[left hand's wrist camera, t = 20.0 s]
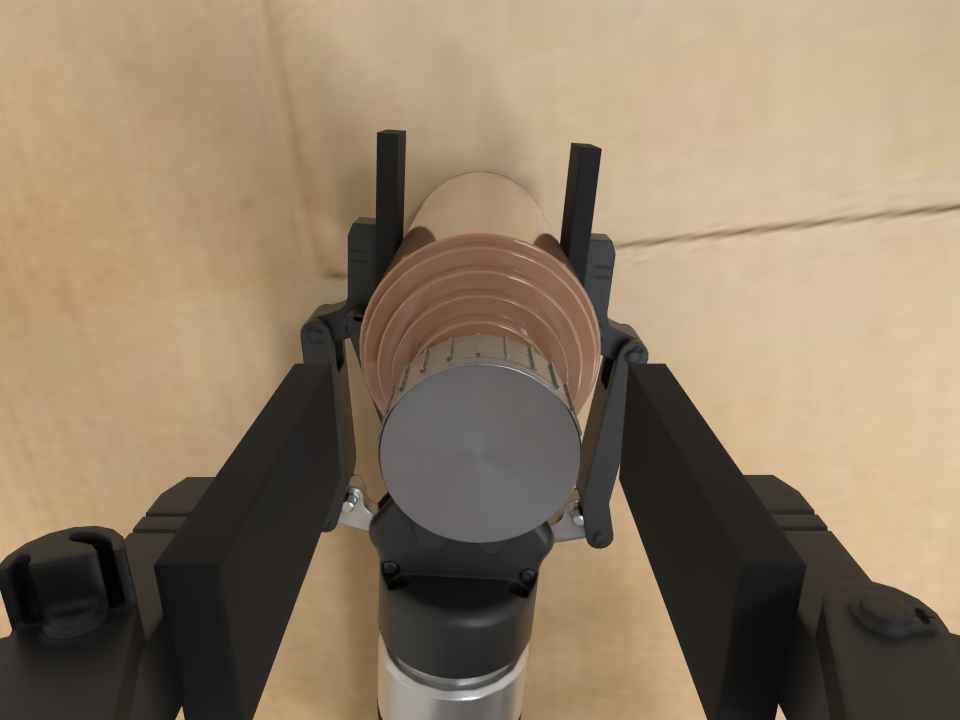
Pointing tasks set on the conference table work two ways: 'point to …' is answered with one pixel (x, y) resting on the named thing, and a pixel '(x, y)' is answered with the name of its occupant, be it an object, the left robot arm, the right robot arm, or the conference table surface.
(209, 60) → the conference table surface
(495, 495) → the cap
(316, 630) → the conference table surface
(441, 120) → the conference table surface
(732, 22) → the conference table surface
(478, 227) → the bottle
